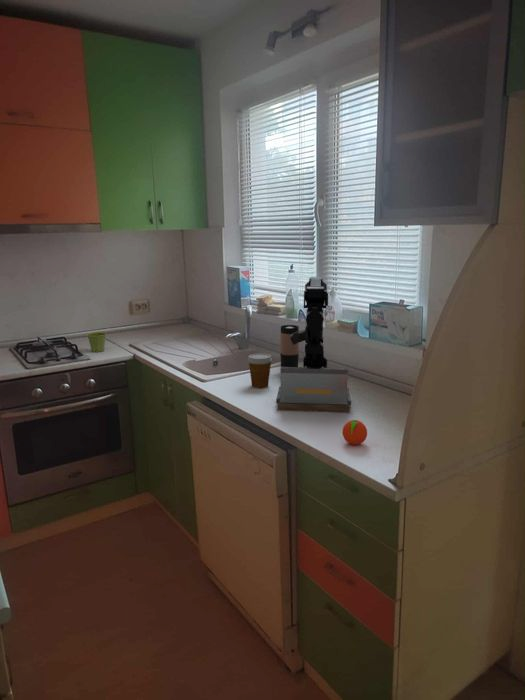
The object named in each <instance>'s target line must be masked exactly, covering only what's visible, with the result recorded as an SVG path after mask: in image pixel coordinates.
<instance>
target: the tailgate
mask: <svg viewBox="0 0 525 700" xmlns="http://www.w3.org/2000/svg"><path fill="white" fill-rule="evenodd" d="M279 370H280V372H279V374H280V386H279V387H280V402H283V403H317V404H347V388H348V377H349V368H347V367H327V368H308V367H307V366H305V367H302V366H301V367H299V366H298V367H281V366H280V369H279Z"/></svg>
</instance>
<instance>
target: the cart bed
mask: <svg viewBox="0 0 525 700" xmlns="http://www.w3.org/2000/svg"><path fill="white" fill-rule="evenodd" d="M276 395H277V396H276V399H275V400H276V402H275V403H276V405H277V411H289V412H291V411H292V412H321V413H324V412H325V413H326V412H327V413H350V409H351V408H350V407H351V406H352V398H351V393H350V388H349V387H347V404H317V403H283V402H280V386H279V387H278V391H277V394H276Z"/></svg>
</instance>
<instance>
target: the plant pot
mask: <svg viewBox="0 0 525 700" xmlns="http://www.w3.org/2000/svg"><path fill="white" fill-rule="evenodd" d="M106 335H107V332H103V331H102V332H90V333H88V334H86V337H87V339H88V342H89V346H90V351H91V352H93V353H95V352H96V353H102V352H103V351H105V341H106Z"/></svg>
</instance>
